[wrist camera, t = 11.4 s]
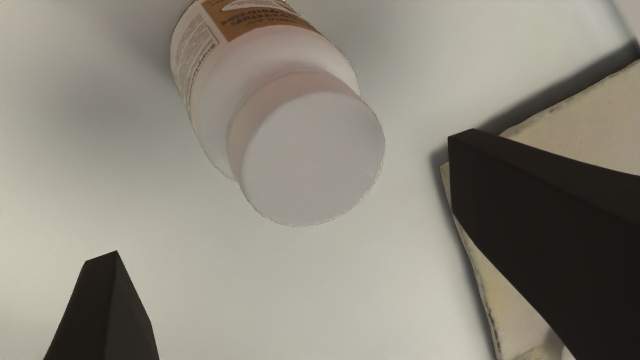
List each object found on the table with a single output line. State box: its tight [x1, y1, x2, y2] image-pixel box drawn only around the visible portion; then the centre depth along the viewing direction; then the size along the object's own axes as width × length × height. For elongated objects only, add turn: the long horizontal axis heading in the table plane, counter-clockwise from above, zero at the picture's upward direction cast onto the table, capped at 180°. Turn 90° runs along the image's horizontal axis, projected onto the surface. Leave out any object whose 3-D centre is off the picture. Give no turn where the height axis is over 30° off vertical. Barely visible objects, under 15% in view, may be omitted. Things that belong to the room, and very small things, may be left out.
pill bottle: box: [170, 0, 385, 227], centre depth 17 cm, size 4×4×8 cm
